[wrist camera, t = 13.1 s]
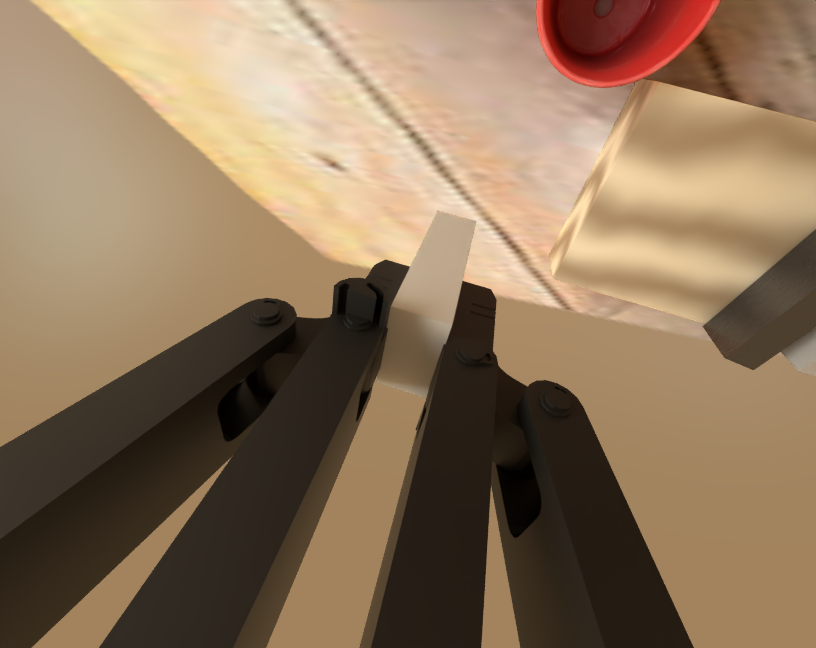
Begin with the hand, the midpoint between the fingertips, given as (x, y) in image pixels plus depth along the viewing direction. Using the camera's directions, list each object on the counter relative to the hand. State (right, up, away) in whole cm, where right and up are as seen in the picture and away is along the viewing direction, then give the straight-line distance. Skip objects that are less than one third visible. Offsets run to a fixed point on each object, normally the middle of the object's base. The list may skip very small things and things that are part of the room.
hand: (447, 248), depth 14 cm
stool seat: (+28, +9, +23) cm, 37 cm away
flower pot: (+15, +24, +16) cm, 32 cm away
